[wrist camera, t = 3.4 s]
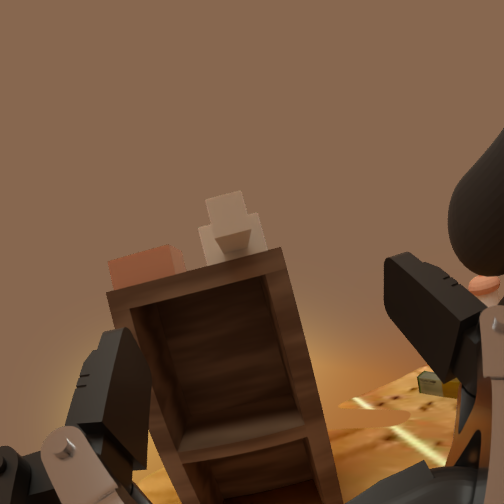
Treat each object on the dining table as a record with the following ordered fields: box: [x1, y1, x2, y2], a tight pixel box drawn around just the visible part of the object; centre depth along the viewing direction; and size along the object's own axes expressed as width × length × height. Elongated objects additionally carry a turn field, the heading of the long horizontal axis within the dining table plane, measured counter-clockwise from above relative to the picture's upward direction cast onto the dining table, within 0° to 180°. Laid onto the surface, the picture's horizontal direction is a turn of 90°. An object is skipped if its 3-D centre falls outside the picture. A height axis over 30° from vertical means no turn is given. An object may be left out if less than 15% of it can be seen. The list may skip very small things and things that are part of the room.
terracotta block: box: [108, 245, 186, 290], centre depth 33 cm, size 7×6×3 cm
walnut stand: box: [106, 247, 343, 504], centre depth 34 cm, size 12×17×32 cm
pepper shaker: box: [469, 275, 500, 307], centre depth 50 cm, size 7×7×19 cm
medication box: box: [417, 371, 460, 399], centre depth 47 cm, size 12×3×4 cm, turn 23°
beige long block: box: [198, 190, 268, 266], centre depth 30 cm, size 20×6×4 cm, turn 2°
